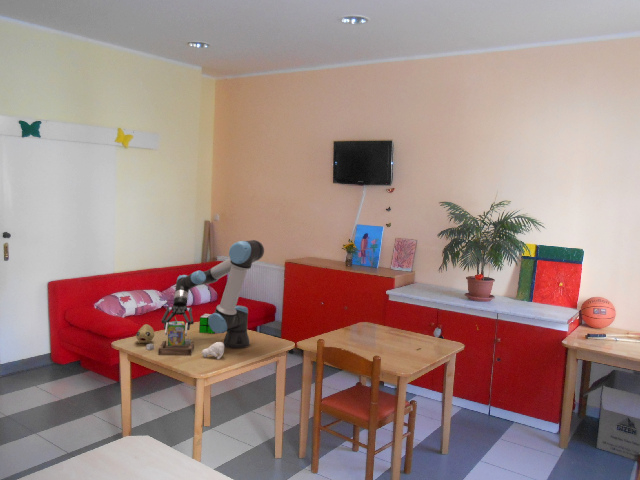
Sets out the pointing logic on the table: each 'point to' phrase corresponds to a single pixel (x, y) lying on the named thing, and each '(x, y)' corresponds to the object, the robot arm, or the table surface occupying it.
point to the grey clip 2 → (187, 341)
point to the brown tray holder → (175, 349)
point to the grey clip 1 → (149, 347)
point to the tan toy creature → (145, 334)
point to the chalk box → (176, 333)
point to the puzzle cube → (205, 324)
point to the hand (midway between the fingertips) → (175, 334)
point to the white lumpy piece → (214, 350)
